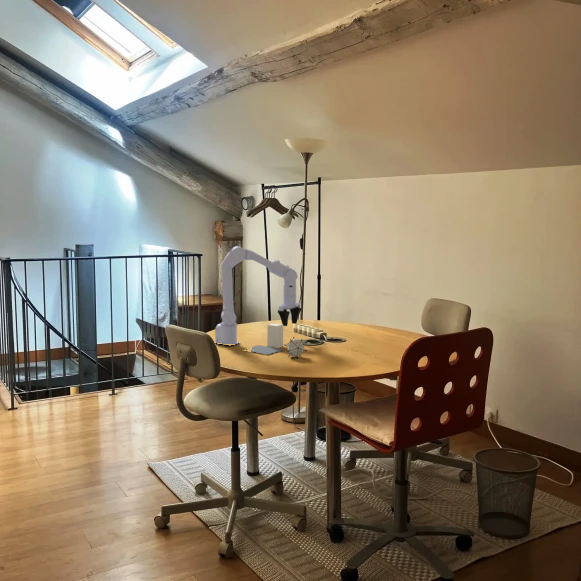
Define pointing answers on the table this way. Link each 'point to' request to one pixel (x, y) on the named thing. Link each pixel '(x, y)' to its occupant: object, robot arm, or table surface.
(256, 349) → the slate mat
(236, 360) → the table surface
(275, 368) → the table surface
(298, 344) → the game die
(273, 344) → the tall block
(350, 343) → the table surface
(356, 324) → the table surface
